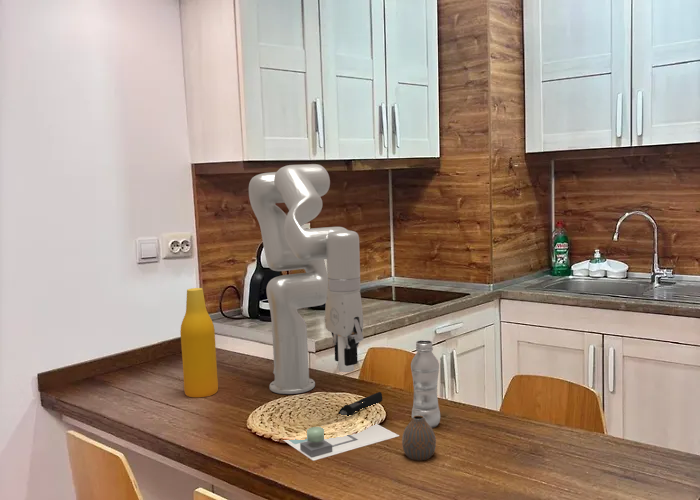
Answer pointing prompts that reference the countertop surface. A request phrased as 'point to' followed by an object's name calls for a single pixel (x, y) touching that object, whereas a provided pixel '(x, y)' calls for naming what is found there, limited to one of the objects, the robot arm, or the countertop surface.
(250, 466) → the countertop surface
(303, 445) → the button housing
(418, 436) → the vase
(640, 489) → the countertop surface
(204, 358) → the beer bottle
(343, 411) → the electric trimmer
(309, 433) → the button
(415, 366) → the plastic bottle
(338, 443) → the sheet
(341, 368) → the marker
